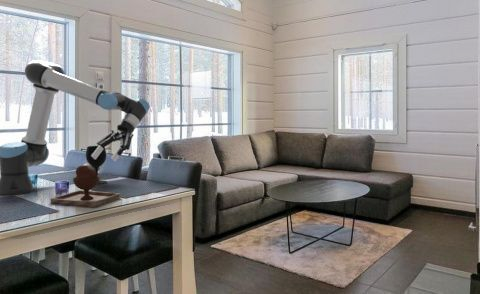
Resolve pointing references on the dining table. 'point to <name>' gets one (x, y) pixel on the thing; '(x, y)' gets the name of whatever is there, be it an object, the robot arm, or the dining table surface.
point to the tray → (75, 197)
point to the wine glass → (98, 161)
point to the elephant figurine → (91, 166)
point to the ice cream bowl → (86, 180)
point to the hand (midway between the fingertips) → (102, 158)
